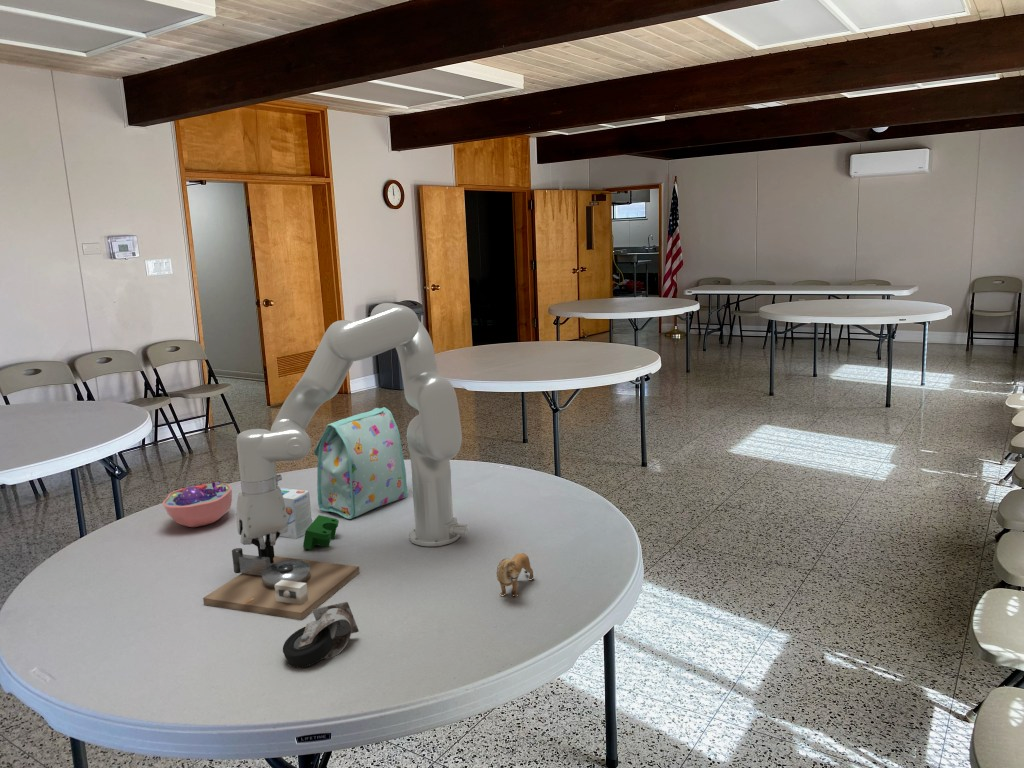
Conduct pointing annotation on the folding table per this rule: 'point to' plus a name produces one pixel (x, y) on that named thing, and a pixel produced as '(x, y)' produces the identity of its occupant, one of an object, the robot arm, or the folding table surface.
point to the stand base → (283, 590)
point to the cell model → (199, 504)
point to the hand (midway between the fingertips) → (267, 562)
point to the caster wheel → (321, 636)
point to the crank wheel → (270, 568)
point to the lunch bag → (360, 464)
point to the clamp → (320, 532)
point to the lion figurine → (512, 571)
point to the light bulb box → (296, 512)
